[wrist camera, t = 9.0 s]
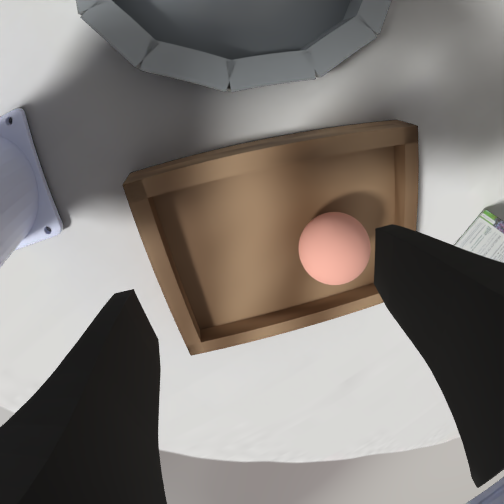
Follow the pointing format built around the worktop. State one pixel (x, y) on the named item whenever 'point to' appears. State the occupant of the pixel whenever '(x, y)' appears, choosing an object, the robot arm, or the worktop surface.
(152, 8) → the bowl
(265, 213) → the tray
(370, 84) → the worktop surface
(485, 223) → the syrup box
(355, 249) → the ball
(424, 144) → the worktop surface
